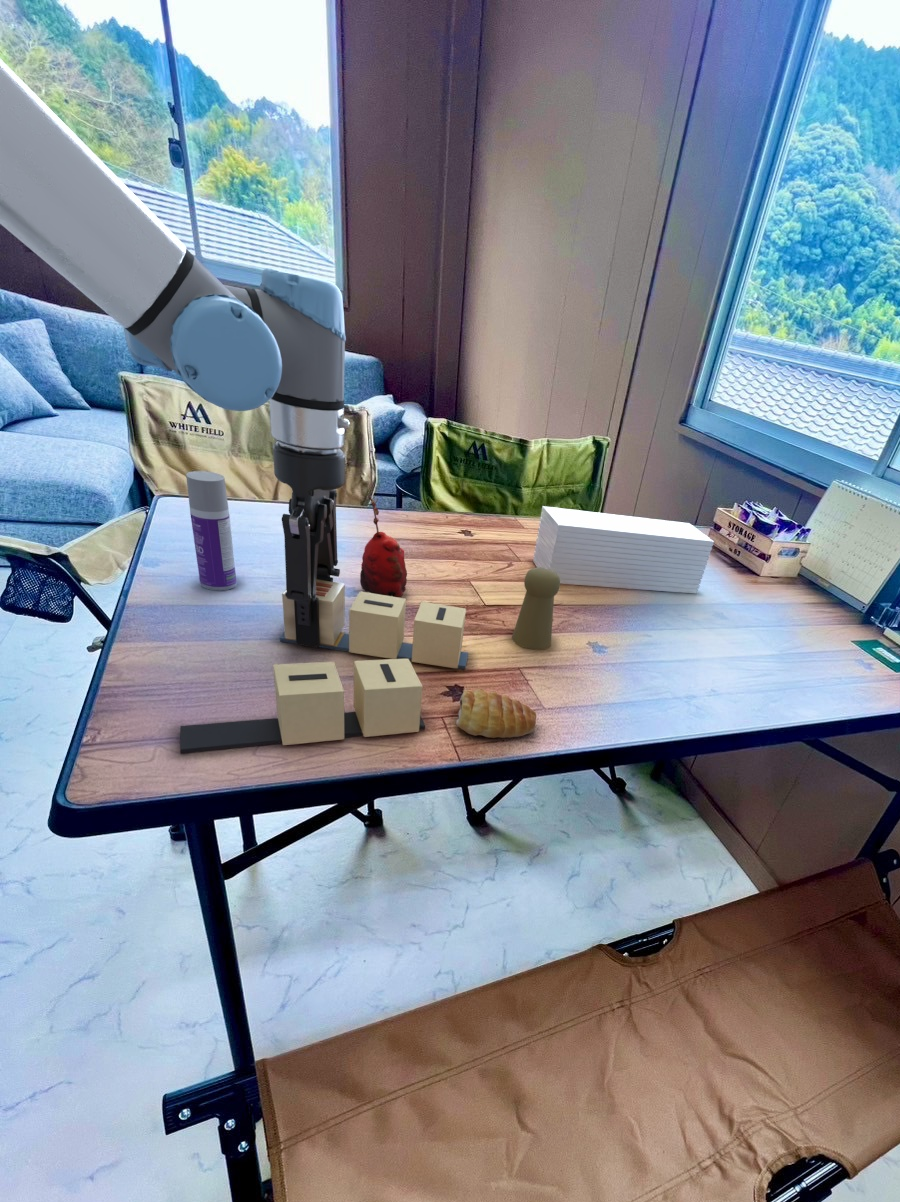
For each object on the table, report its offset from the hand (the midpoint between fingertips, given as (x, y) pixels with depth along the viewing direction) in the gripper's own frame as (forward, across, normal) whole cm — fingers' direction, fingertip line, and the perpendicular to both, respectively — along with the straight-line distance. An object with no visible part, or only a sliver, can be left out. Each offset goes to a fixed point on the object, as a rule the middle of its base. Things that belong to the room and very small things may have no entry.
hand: (315, 632), depth 82 cm
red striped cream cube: (0, 0, 0) cm, 0 cm away
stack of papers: (+1, +44, -46) cm, 64 cm away
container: (+1, +12, +17) cm, 21 cm away
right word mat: (+1, 0, -8) cm, 8 cm away
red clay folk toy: (+1, +19, -5) cm, 20 cm away
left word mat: (+1, -20, -5) cm, 21 cm away
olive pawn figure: (+1, +10, -29) cm, 31 cm away
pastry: (+1, -14, -24) cm, 28 cm away
